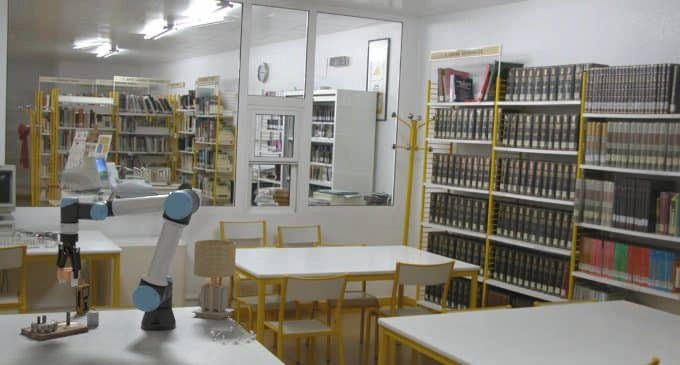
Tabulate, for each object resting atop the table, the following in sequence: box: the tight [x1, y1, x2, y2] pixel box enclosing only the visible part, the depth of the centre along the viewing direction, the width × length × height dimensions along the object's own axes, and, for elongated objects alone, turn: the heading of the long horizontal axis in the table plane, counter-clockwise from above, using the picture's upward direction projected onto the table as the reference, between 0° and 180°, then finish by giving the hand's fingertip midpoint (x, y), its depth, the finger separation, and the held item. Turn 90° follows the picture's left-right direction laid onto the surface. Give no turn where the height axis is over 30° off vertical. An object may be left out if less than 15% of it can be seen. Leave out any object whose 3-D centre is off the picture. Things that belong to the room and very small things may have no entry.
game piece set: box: [209, 325, 258, 344], centre depth 322 cm, size 19×20×4 cm
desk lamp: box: [191, 239, 237, 320], centre depth 361 cm, size 20×20×35 cm
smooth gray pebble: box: [86, 310, 100, 327], centre depth 336 cm, size 5×5×6 cm
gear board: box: [20, 310, 90, 341], centre depth 322 cm, size 16×22×8 cm
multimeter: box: [75, 269, 96, 317], centre depth 358 cm, size 15×10×20 cm
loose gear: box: [56, 267, 81, 282], centre depth 325 cm, size 9×9×4 cm
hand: (68, 284), depth 325 cm, fingers closed on loose gear, 9 cm apart
